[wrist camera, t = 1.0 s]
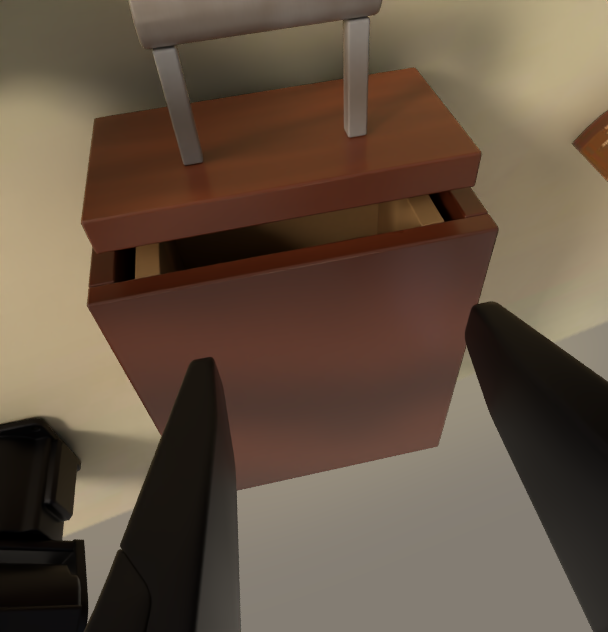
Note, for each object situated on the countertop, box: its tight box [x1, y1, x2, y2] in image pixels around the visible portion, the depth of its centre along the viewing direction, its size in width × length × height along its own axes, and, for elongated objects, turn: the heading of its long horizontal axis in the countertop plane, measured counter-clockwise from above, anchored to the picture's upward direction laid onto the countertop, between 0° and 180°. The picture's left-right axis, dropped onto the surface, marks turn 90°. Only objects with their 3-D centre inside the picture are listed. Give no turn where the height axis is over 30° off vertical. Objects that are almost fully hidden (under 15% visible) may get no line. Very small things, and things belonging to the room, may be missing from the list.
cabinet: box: [87, 187, 498, 490], centre depth 24 cm, size 15×13×8 cm
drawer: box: [81, 0, 481, 279], centre depth 20 cm, size 18×11×6 cm, turn 4°
